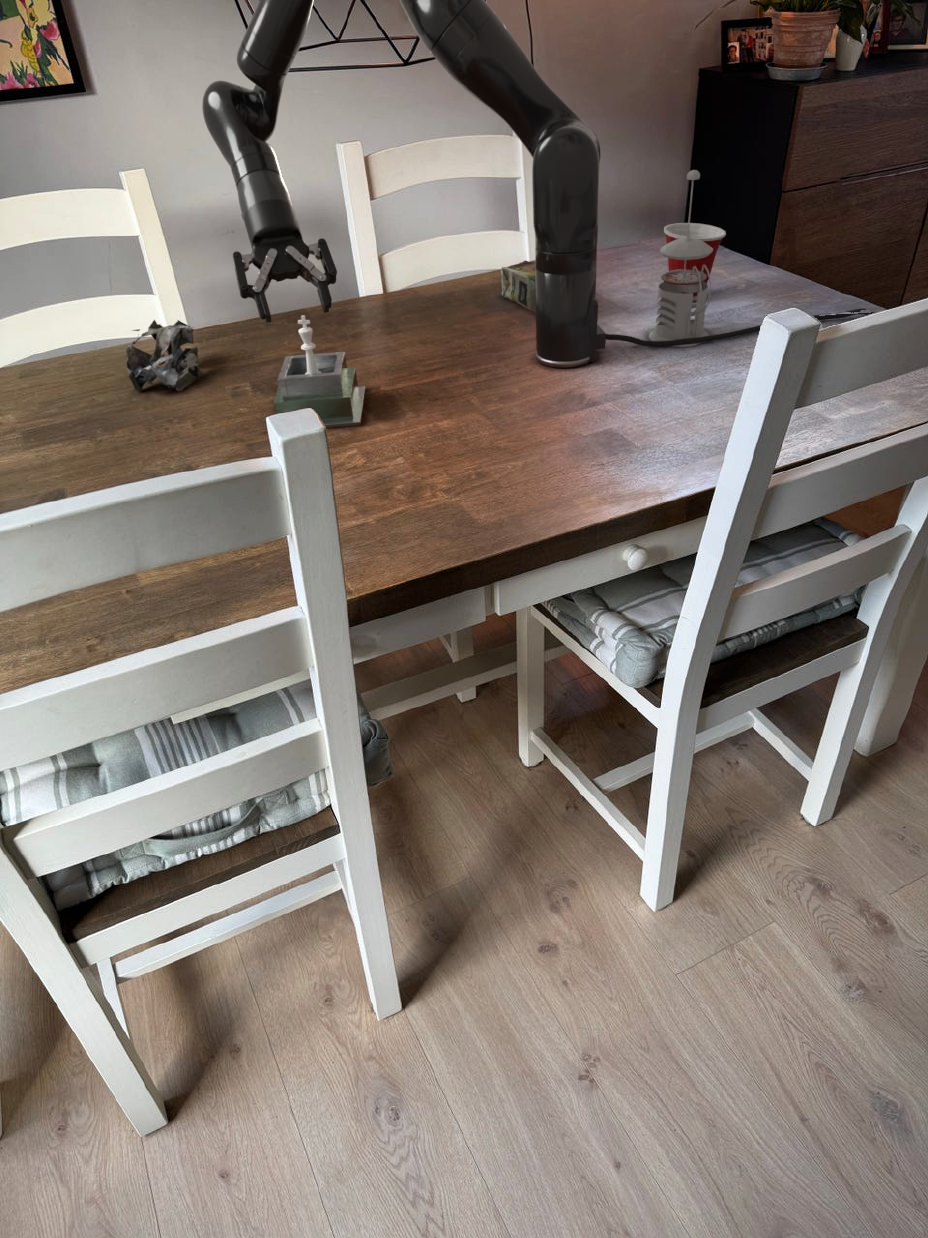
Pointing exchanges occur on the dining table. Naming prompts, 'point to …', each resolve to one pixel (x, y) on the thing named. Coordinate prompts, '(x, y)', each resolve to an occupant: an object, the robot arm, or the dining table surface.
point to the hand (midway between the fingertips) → (298, 314)
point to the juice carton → (520, 284)
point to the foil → (165, 358)
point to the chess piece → (308, 345)
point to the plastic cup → (696, 231)
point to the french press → (683, 289)
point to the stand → (321, 389)
